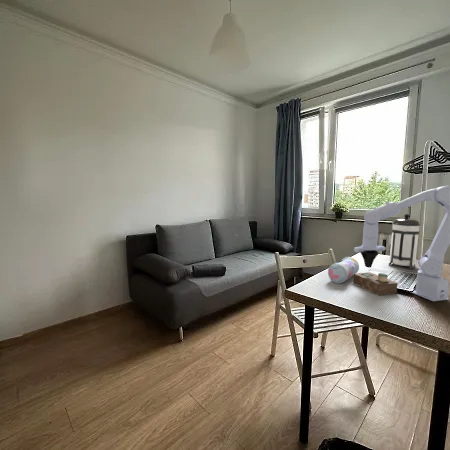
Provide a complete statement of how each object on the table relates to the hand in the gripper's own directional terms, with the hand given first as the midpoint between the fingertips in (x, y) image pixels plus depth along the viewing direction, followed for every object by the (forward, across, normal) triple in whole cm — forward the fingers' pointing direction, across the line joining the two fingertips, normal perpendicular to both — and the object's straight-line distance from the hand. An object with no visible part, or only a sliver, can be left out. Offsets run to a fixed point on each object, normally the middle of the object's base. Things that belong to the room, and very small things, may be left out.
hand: (368, 266), depth 107 cm
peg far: (+8, 0, 0) cm, 8 cm away
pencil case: (+9, +5, -10) cm, 14 cm away
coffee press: (+9, -42, -19) cm, 47 cm away
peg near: (+5, 0, +8) cm, 9 cm away
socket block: (+8, 0, +4) cm, 9 cm away
